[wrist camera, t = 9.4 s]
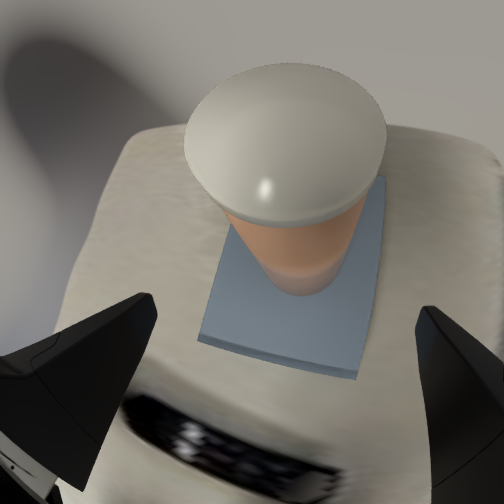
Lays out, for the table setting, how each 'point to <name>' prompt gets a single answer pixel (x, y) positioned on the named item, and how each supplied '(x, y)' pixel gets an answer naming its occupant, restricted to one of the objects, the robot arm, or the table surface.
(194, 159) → the canister
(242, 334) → the book
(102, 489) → the table surface
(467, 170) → the table surface
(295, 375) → the table surface
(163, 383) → the table surface
